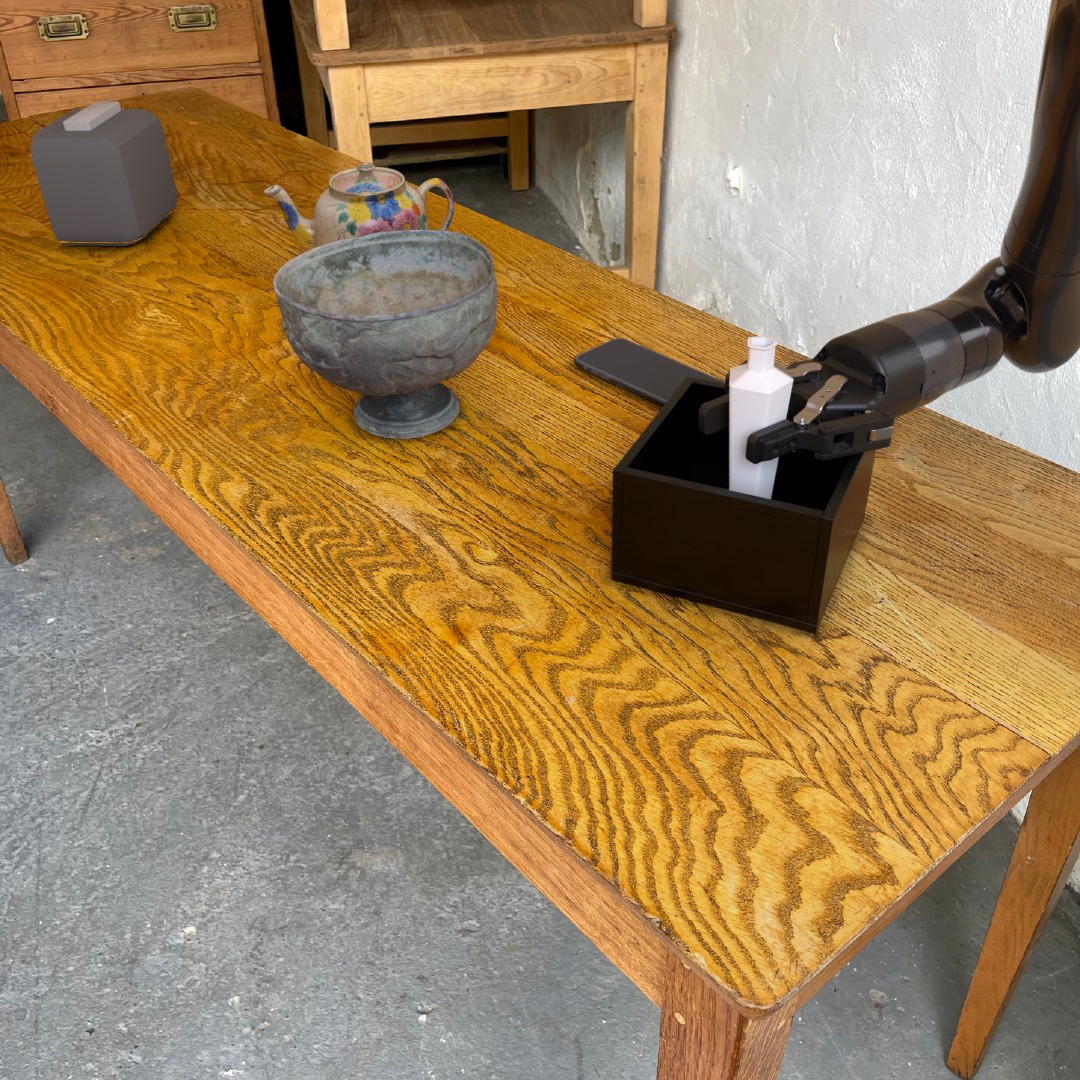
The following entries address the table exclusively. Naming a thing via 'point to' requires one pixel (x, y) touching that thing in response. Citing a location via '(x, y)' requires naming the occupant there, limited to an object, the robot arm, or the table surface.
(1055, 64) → the robot arm
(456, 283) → the bowl
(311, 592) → the table surface
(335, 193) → the teapot
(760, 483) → the perfume bottle
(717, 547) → the open box
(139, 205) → the alarm clock
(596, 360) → the smartphone
